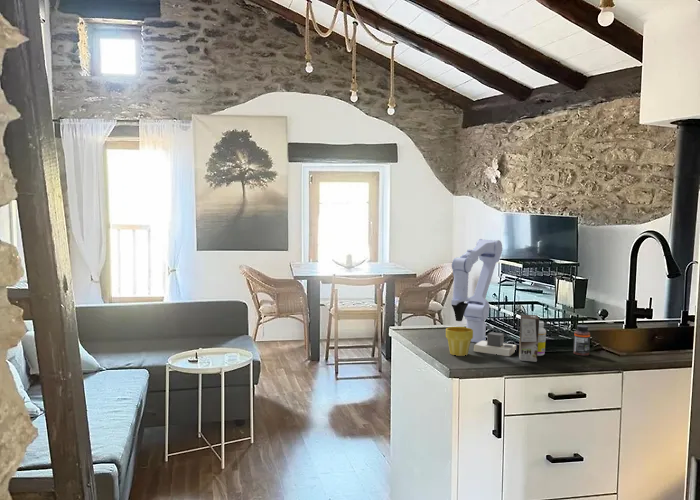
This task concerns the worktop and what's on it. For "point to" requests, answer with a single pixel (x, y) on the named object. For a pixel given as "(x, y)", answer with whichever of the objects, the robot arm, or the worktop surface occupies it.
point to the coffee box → (528, 338)
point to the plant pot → (459, 340)
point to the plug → (495, 339)
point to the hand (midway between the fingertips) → (458, 320)
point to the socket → (495, 348)
